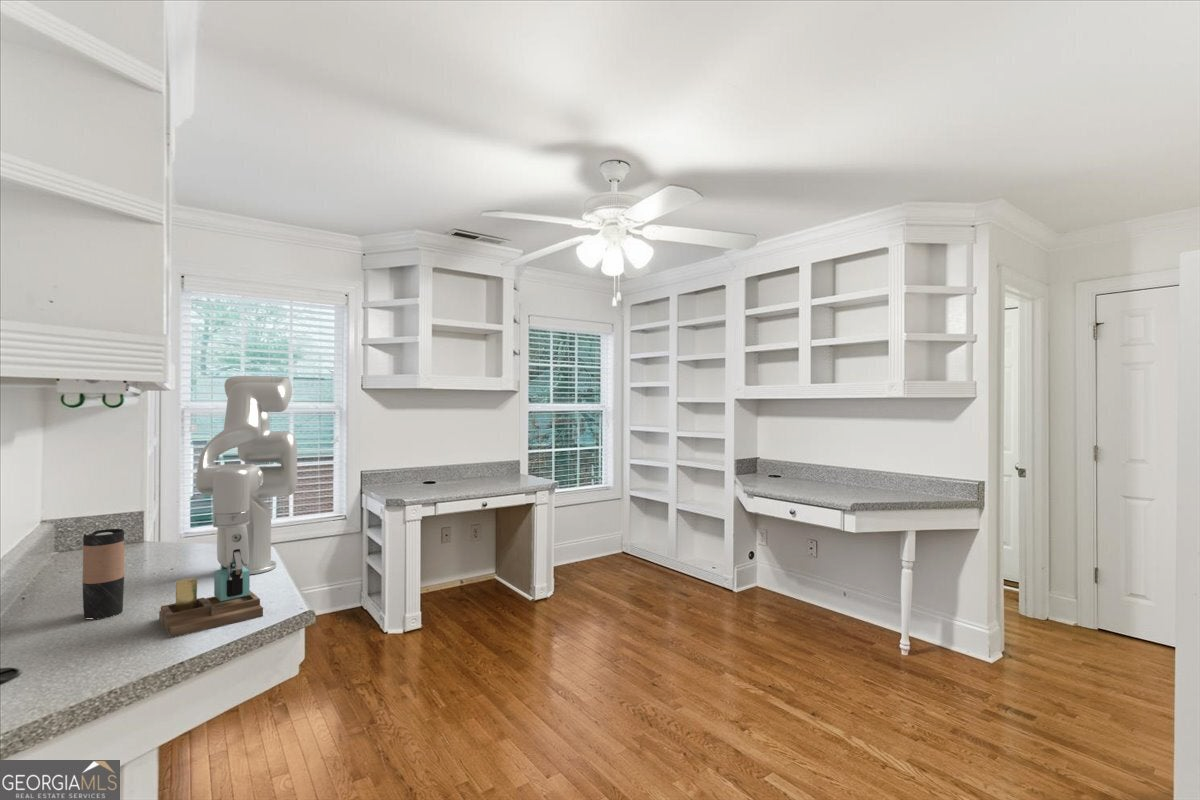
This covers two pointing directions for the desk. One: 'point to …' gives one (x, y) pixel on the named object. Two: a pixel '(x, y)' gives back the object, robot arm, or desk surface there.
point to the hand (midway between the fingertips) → (231, 591)
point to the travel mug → (103, 573)
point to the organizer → (209, 614)
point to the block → (221, 584)
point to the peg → (186, 594)
